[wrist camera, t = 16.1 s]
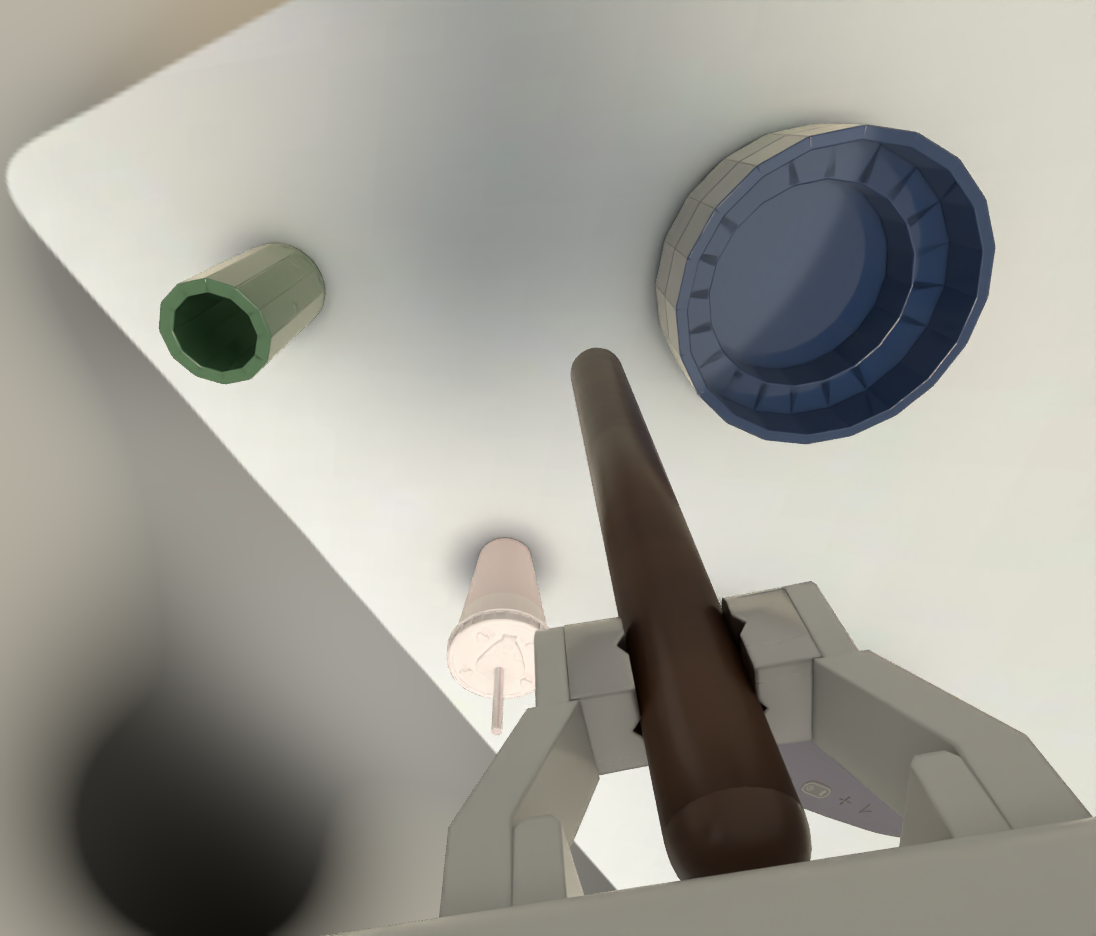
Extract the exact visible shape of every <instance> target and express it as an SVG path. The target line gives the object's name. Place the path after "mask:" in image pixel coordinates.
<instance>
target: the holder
mask: <svg viewBox="0 0 1096 936" xmlns="http://www.w3.org/2000/svg"><path fill="white" fill-rule="evenodd" d="M324 298H325V287H324V282H323V278H322V276H321V274H320V272H319V270H318V268H317V267H316V265H315V264H314V262H313V261H312V260H311V259H310V258H309V257H308V256H307V255H305V254H304V253H303V252H301V251H300V250H298V249H296V248H294V247H292V246H289V245H286V244H280V243H269V244H264V245H261V246H259V247H254V248H251V249H249V250H247V251H245V252H243V253H241V254H239V255H237V256H234V257H232V258H230V259H228V260H226V261H224V262H222V263H220V264H218V265H216V266H214V267H212V268H209V269H207V270H205V271H203V272H201V273H199V274H197V275H195V276H193V277H191V278H189V279H187V280H185V281H182V282H180V283H179V284H177V285H176V286H175V287H174V288H173V289H172V290H171V292H170V293H169V294H168V295H167V296H166V297H165V298H164V300H163V301H162V302H161V306H160V321H159V330H160V333H161V335H162V337H163V339H164V341H165V343H166V345H167V347H168V349H169V351H170V353H171V355H172V356H173V358H174V359H175V360H177V361H178V362H179V363H180V364H181V365H183V366H184V367H185V368H186V369H188V370H189V371H190V372H191V373H192V374H194V375H195V376H197V377H200V378H204V379H207V380H210V381H214V382H217V383H221V384H230V383H235V382H240V381H245V380H250V379H252V378H253V377H254V376H255V375H256V374H257V373H258V372H259V371H260V370H261V369H262V368H263V367H264V366H265V365H266V364H267V363H268V362H269V361H270V360H272V359H273V358H274V357H275V356H276V355H277V354H278V353H279V352H280V351H281V350H282V349H283V348H284V347H285V346H286V345H287V344H288V343H289V342H290V341H291V340H292V339H293V338H294V337H295V336H296V335H297V334H298V333H300V332H301V331H302V330H303V329H304V328H305V327H306V326H307V325H308V324H309V323H310V322H311V321H312V320H313V319H314V318H315V317H316V316H317V315H318V314H319V312H320V310H321V308H322V306H323V303H324Z"/></svg>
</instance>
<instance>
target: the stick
mask: <svg viewBox="0 0 1096 936" xmlns="http://www.w3.org/2000/svg"><path fill="white" fill-rule="evenodd" d="M571 381H572V386H573V391H574V396H575V401H576V406H577V411H578V416H579V421H580V426H581V431H582V436H583V441H584V446H585V451H586V456H587V461H588V466H589V471H590V476H591V481H592V486H593V491H594V496H595V501H596V506H597V511H598V516H599V521H600V526H601V531H602V536H603V541H604V546H605V551H606V556H607V561H608V566H609V571H610V576H611V581H612V586H613V591H614V596H615V601H616V606H617V611H618V616H619V617H621V620H622V625H623V630H624V635H625V640H626V645H627V650H628V654H629V659H630V664H631V669H632V674H633V679H634V685H635V690H636V695H637V700H638V705H639V710H640V715H641V719H640V725H641V730H642V735H643V740H644V745H645V750H646V755H647V760H648V765H649V770H650V775H651V780H652V785H653V790H654V795H655V800H656V805H657V810H658V815H659V820H660V825H661V830H662V835H663V840H664V844H665V848H666V851H667V854H668V857H669V860H670V863H671V865H672V867H673V869H674V871H675V873H676V874H677V876H678V878H679V879H680V880H688V879H695V878H701V877H708V876H714V875H721V874H727V873H734V872H740V871H747V870H753V869H760V868H766V867H773V866H779V865H786V864H792V863H799V862H805V861H810V859H811V851H812V846H811V835H810V829H809V825H808V821H807V818H806V815H805V812H804V809H803V807H802V804H801V802H800V799H799V797H798V795H797V792H796V790H795V787H794V785H793V782H792V780H791V777H790V775H789V773H788V770H787V768H786V765H785V763H784V760H783V758H782V755H781V753H780V751H779V748H778V746H777V743H776V741H775V738H774V736H773V733H772V731H771V729H770V726H769V724H768V721H767V719H766V716H765V714H764V711H763V709H762V707H761V704H760V702H759V701H758V699H757V698H756V696H755V693H754V691H753V688H752V686H751V684H750V681H749V679H748V676H747V674H746V671H745V669H744V667H743V664H742V658H741V655H740V653H739V650H738V649H737V647H736V645H735V643H734V642H733V640H732V637H731V635H730V632H729V630H728V627H727V625H726V622H725V620H724V617H723V615H722V609H721V606H720V604H719V602H718V599H717V597H716V594H715V592H714V589H713V587H712V584H711V582H710V580H709V577H708V575H707V572H706V570H705V567H704V565H703V563H702V560H701V558H700V555H699V553H698V550H697V548H696V545H695V543H694V541H693V538H692V536H691V533H690V531H689V528H688V526H687V523H686V521H685V519H684V516H683V514H682V511H681V509H680V506H679V504H678V501H677V499H676V497H675V494H674V492H673V489H672V487H671V484H670V482H669V479H668V477H667V475H666V472H665V470H664V467H663V465H662V462H661V460H660V458H659V455H658V453H657V450H656V448H655V445H654V443H653V440H652V438H651V436H650V433H649V431H648V428H647V426H646V423H645V421H644V418H643V416H642V414H641V411H640V409H639V406H638V404H637V401H636V399H635V396H634V394H633V392H632V389H631V387H630V384H629V382H628V379H627V377H626V374H625V372H624V370H623V367H622V365H621V362H620V361H619V359H618V358H617V357H616V355H615V354H613V353H612V352H611V351H609V350H607V349H603V348H591V349H587V350H585V351H584V352H582V353H581V354H580V355H579V356H578V357H577V358H576V359H575V361H574V362H573V365H572V368H571Z"/></svg>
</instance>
